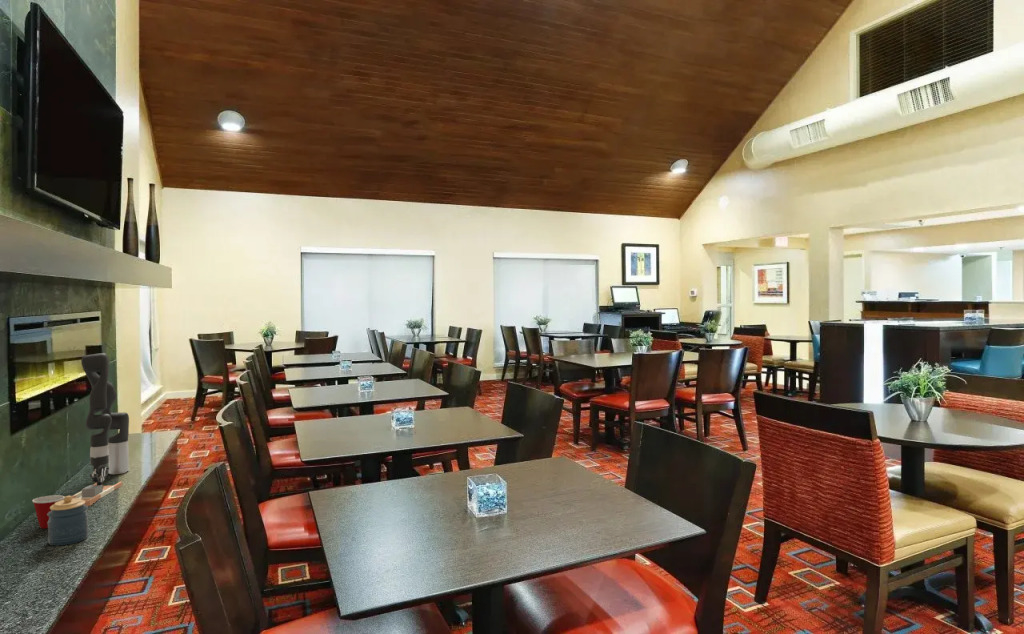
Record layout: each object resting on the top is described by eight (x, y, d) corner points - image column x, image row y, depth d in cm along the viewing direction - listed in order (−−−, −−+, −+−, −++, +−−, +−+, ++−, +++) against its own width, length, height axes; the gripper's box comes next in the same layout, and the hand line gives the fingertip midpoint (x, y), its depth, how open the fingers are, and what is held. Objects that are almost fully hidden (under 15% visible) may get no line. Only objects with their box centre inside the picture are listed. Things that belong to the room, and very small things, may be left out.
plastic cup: (71, 523, 249) (70, 495, 249) (41, 532, 239) (41, 503, 239) (56, 519, 253) (55, 492, 253) (27, 528, 244) (26, 499, 243)
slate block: (89, 493, 286) (89, 485, 286) (102, 492, 287) (102, 484, 287) (81, 497, 280) (81, 489, 280) (95, 497, 281) (95, 488, 281)
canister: (65, 533, 239) (64, 490, 238) (96, 533, 238) (95, 490, 238) (39, 546, 226) (38, 501, 225) (71, 546, 225) (70, 501, 225)
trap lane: (97, 487, 297) (97, 482, 297) (122, 486, 299) (122, 481, 299) (61, 507, 269) (61, 501, 269) (89, 505, 270) (89, 500, 270)
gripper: (98, 451, 295) (99, 485, 295) (83, 458, 282) (84, 494, 282) (114, 451, 296) (115, 484, 296) (100, 457, 283) (100, 493, 283)
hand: (100, 489), depth 289 cm, fingers closed
